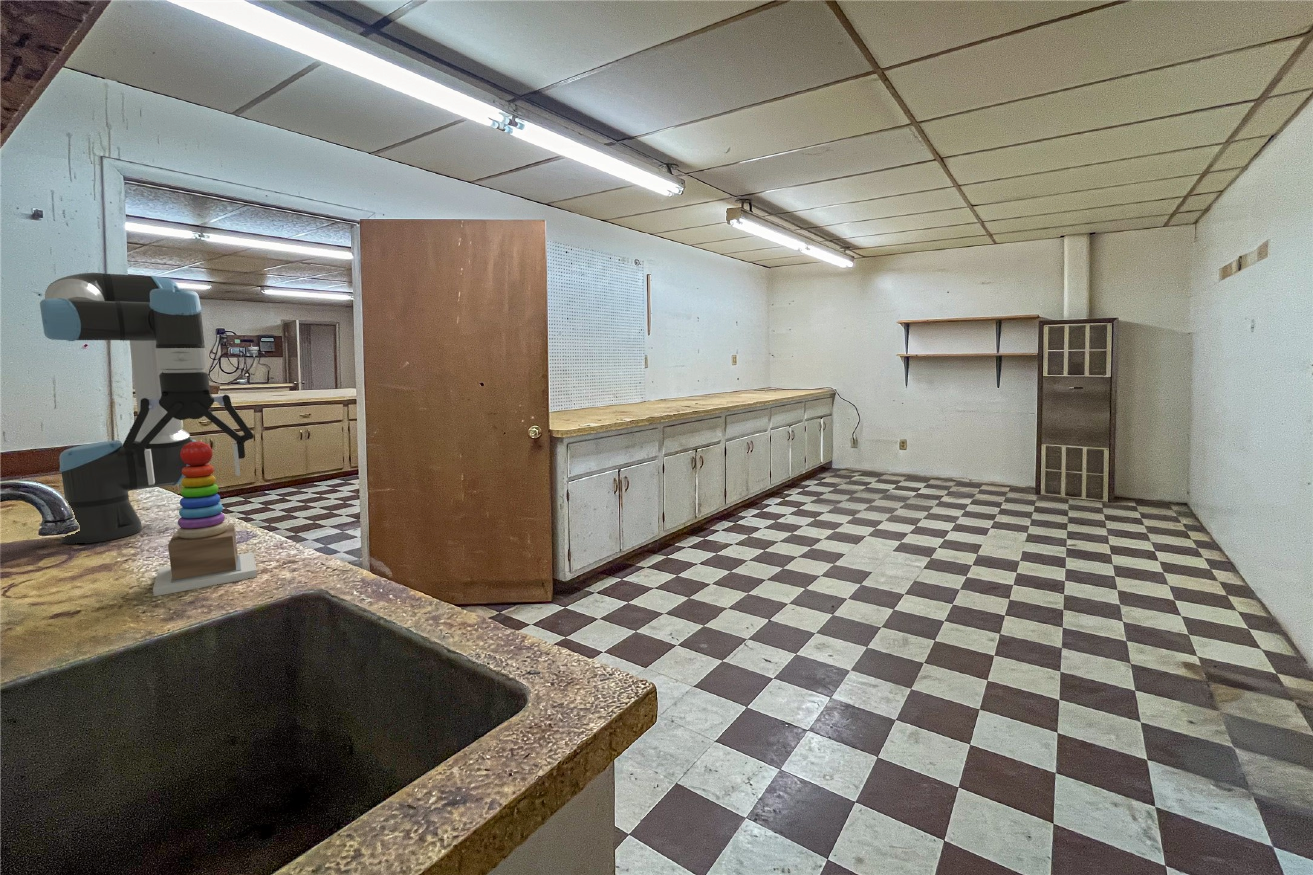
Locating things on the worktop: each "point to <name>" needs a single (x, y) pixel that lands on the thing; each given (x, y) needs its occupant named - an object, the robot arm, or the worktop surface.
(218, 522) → the stacking toy
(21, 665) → the worktop surface
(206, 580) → the baseplate
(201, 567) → the walnut block
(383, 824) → the worktop surface
